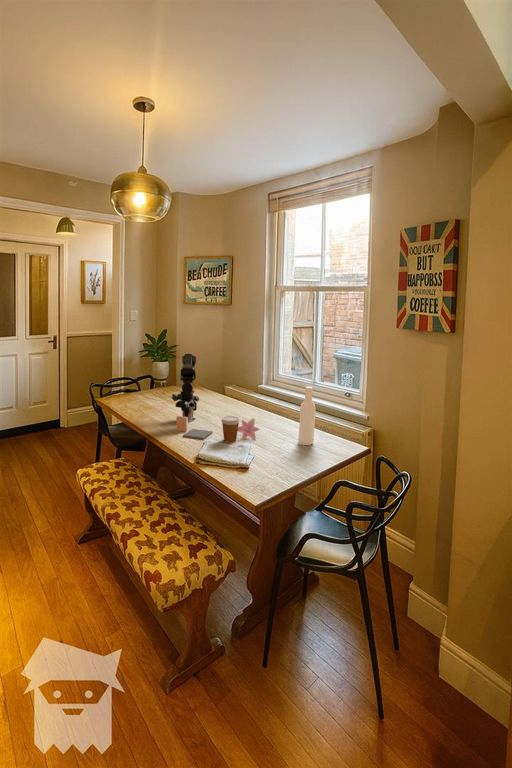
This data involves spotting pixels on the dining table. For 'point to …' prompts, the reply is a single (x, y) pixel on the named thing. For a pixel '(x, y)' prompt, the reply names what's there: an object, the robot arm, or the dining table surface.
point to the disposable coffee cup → (230, 428)
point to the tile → (181, 423)
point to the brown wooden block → (188, 414)
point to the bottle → (307, 419)
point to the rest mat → (198, 434)
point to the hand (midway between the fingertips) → (187, 416)
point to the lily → (248, 429)
